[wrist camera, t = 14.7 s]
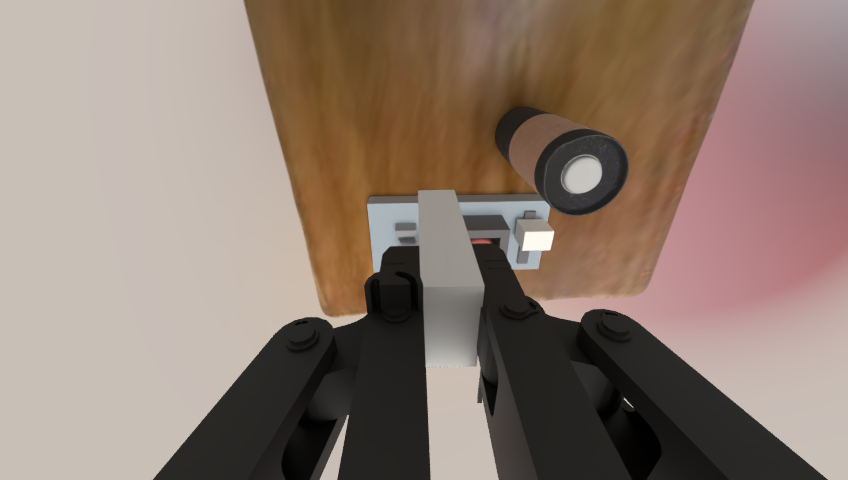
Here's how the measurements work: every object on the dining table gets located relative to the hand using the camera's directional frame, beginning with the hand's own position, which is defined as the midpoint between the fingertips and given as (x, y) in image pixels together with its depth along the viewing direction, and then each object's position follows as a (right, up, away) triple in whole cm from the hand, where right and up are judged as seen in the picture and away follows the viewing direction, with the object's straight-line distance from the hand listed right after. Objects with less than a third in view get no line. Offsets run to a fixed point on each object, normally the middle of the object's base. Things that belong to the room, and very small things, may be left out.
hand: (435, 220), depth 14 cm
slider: (+15, +1, +35) cm, 38 cm away
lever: (-3, -1, +35) cm, 35 cm away
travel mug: (+13, +14, +32) cm, 37 cm away
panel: (+5, +1, +39) cm, 39 cm away
